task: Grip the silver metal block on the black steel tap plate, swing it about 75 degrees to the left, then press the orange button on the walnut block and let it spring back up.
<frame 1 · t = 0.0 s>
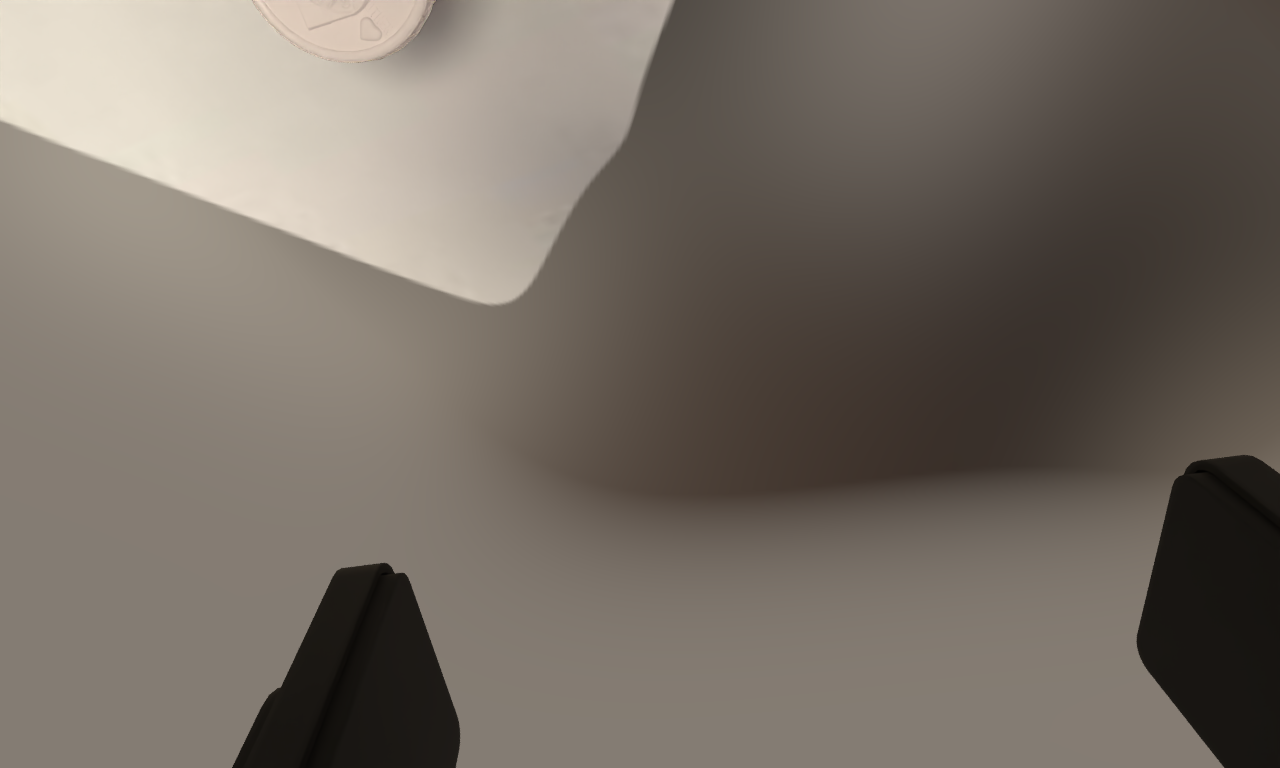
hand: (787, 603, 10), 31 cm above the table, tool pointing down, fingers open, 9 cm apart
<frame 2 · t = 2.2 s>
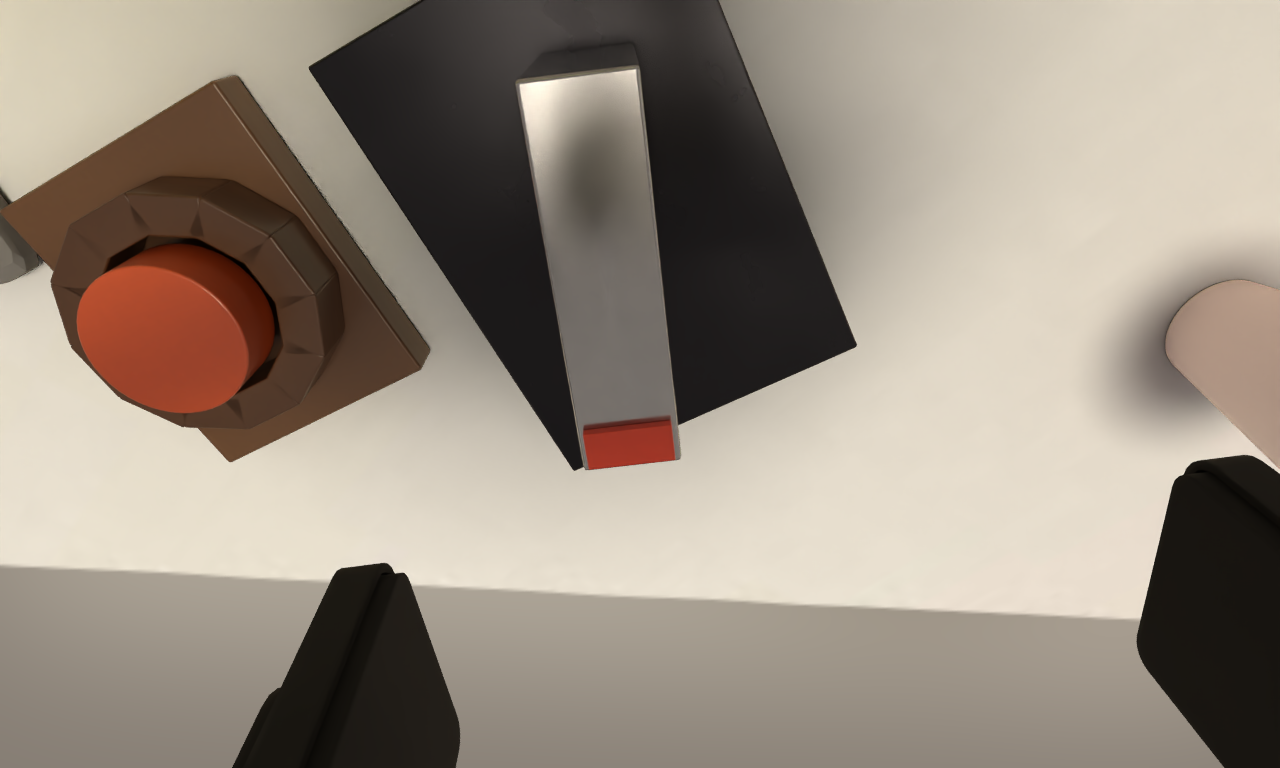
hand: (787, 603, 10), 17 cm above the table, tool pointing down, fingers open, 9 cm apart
silver metal block: (608, 254, 19), point 6 cm above the table, hinge at -20.0°
button: (181, 329, 21), point 4 cm above the table, slide at 0.1 cm
smoothie: (1215, 326, 27), on the table
tap plate: (609, 194, 24), on the table
button block: (242, 278, 25), on the table
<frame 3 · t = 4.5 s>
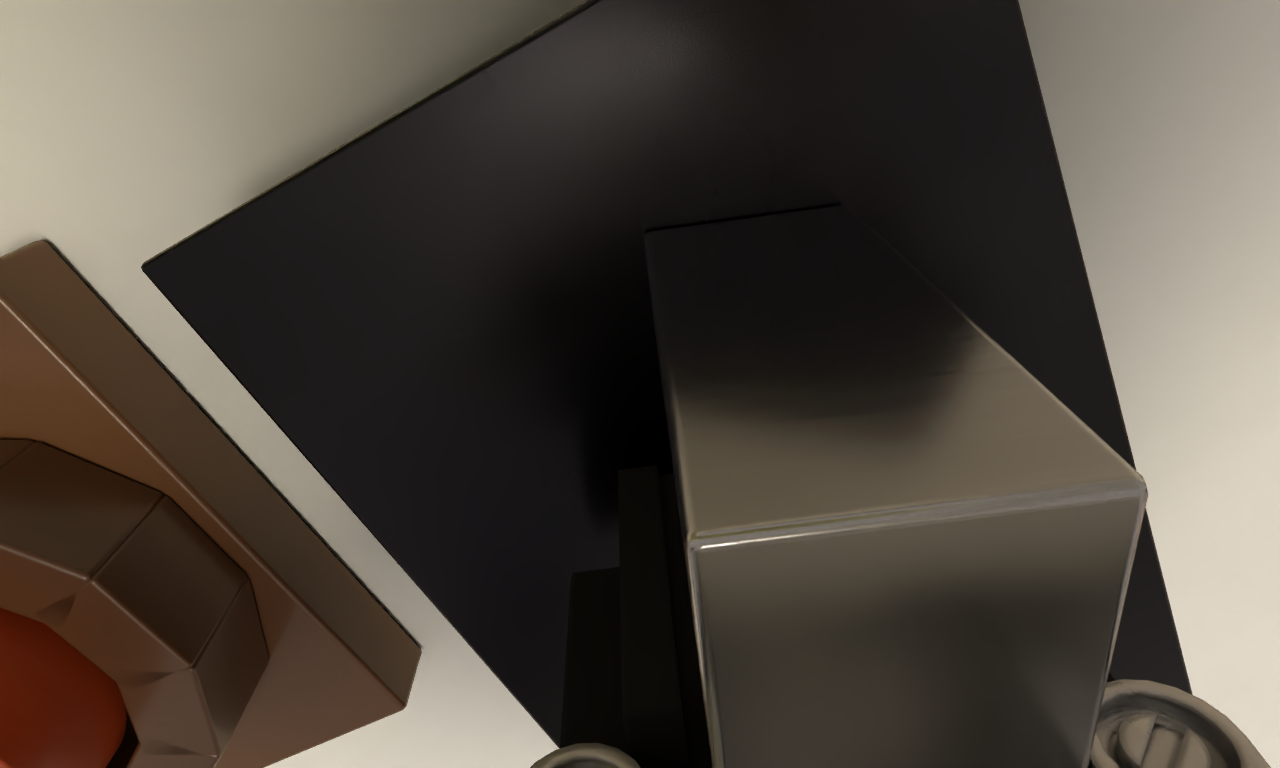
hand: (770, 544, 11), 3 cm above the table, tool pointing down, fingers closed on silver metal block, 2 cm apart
silver metal block: (813, 693, 8), point 6 cm above the table, hinge at -20.0°, touching gripper
tap plate: (734, 418, 14), on the table
button block: (96, 559, 15), on the table
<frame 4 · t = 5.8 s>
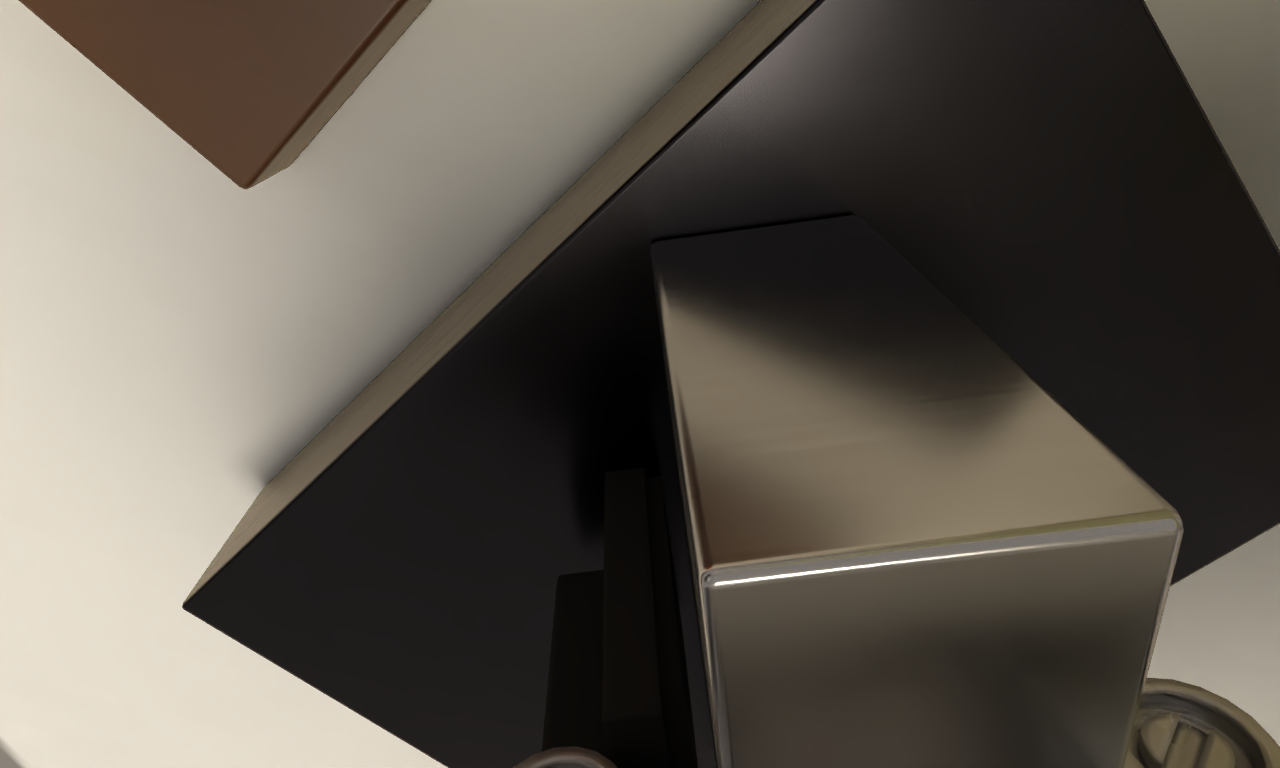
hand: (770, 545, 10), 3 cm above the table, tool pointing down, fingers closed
silver metal block: (823, 713, 8), point 6 cm above the table, hinge at 54.4°
tap plate: (740, 427, 13), on the table
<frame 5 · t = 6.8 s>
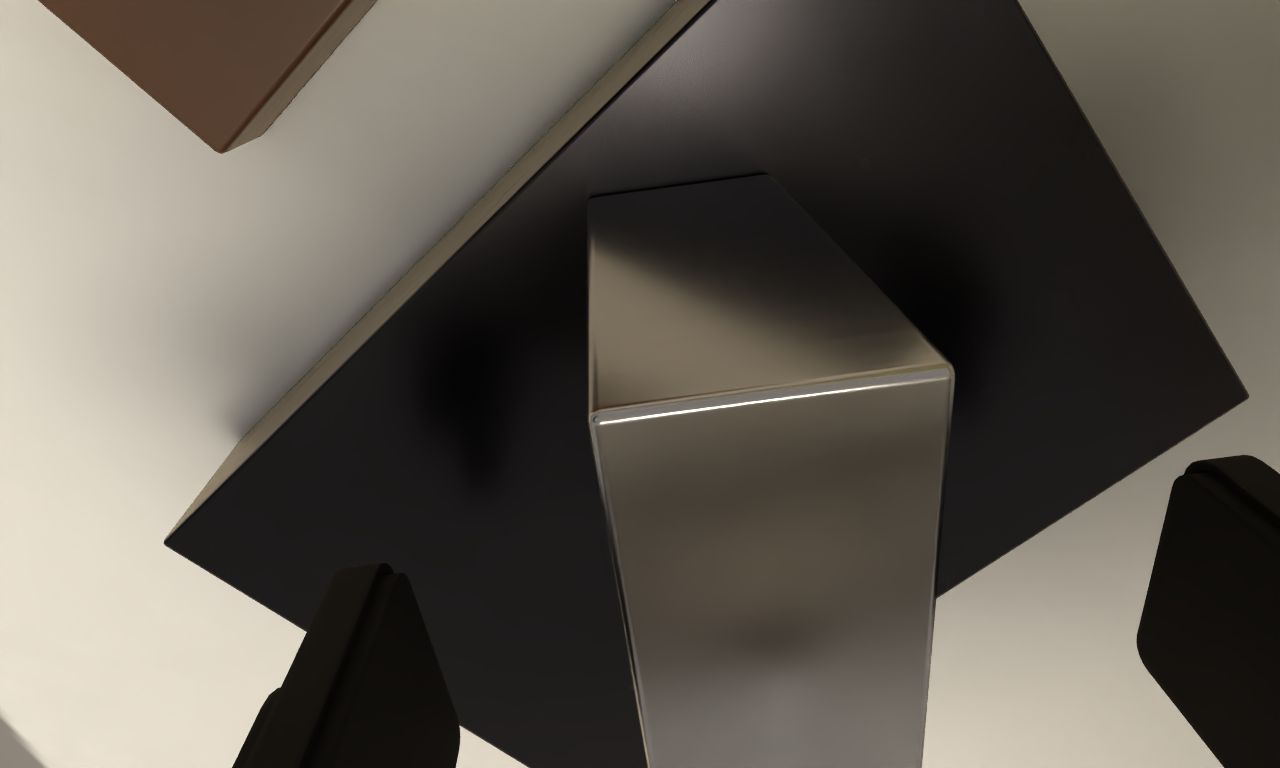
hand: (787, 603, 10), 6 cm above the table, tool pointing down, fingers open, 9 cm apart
silver metal block: (739, 609, 9), point 6 cm above the table, hinge at 54.4°
tap plate: (684, 382, 15), on the table
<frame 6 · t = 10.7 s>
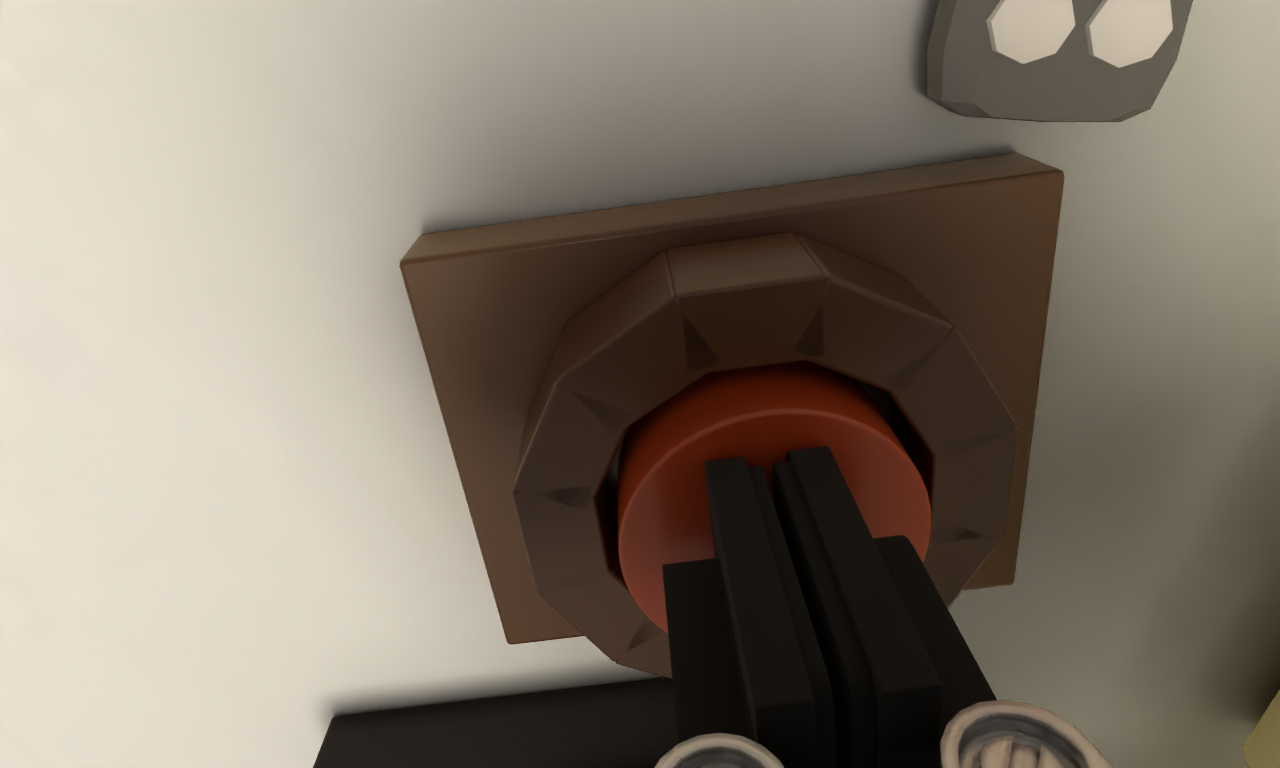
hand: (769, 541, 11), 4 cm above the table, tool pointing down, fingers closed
button: (763, 506, 12), point 3 cm above the table, slide at -0.7 cm, touching gripper
button block: (733, 402, 14), on the table
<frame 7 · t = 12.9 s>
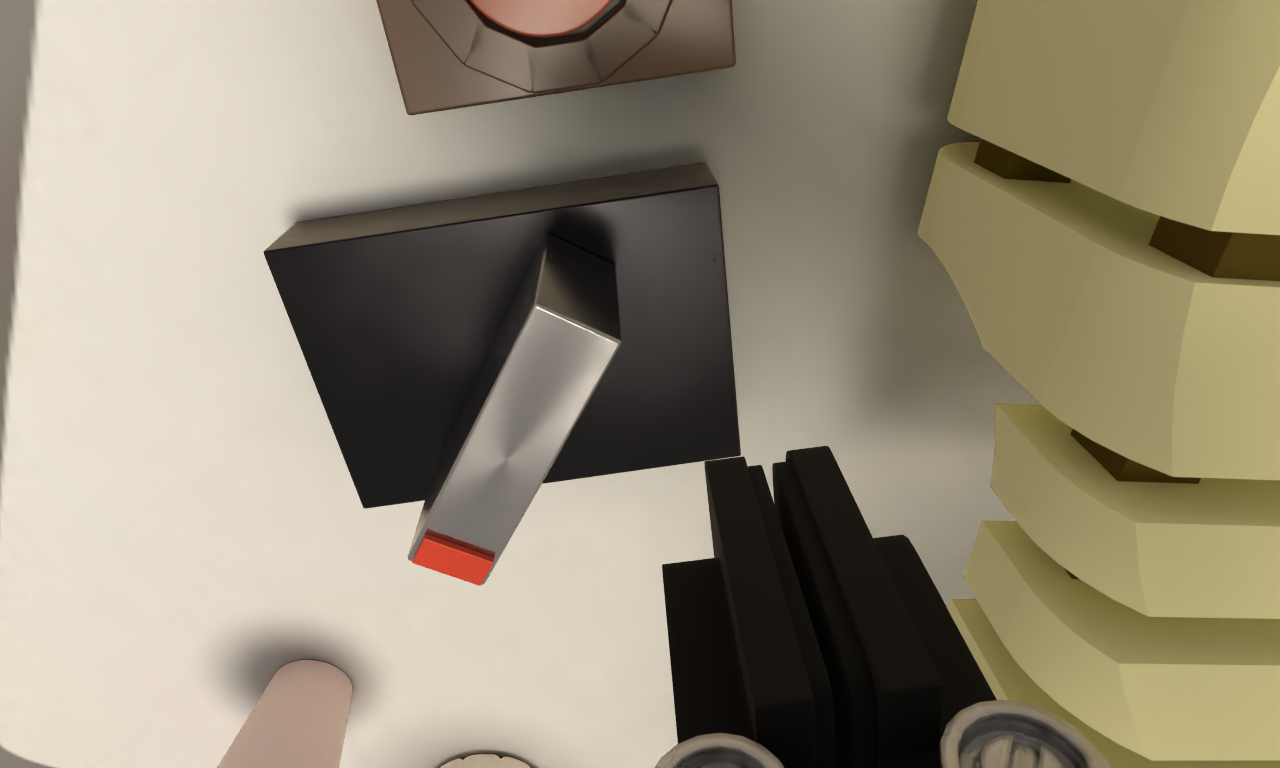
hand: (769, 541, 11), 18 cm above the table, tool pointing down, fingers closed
silver metal block: (515, 408, 23), point 6 cm above the table, hinge at 54.4°
slatted curved stool: (1156, 62, 25), on the table
smoothie: (314, 683, 37), on the table
tap plate: (529, 325, 28), on the table
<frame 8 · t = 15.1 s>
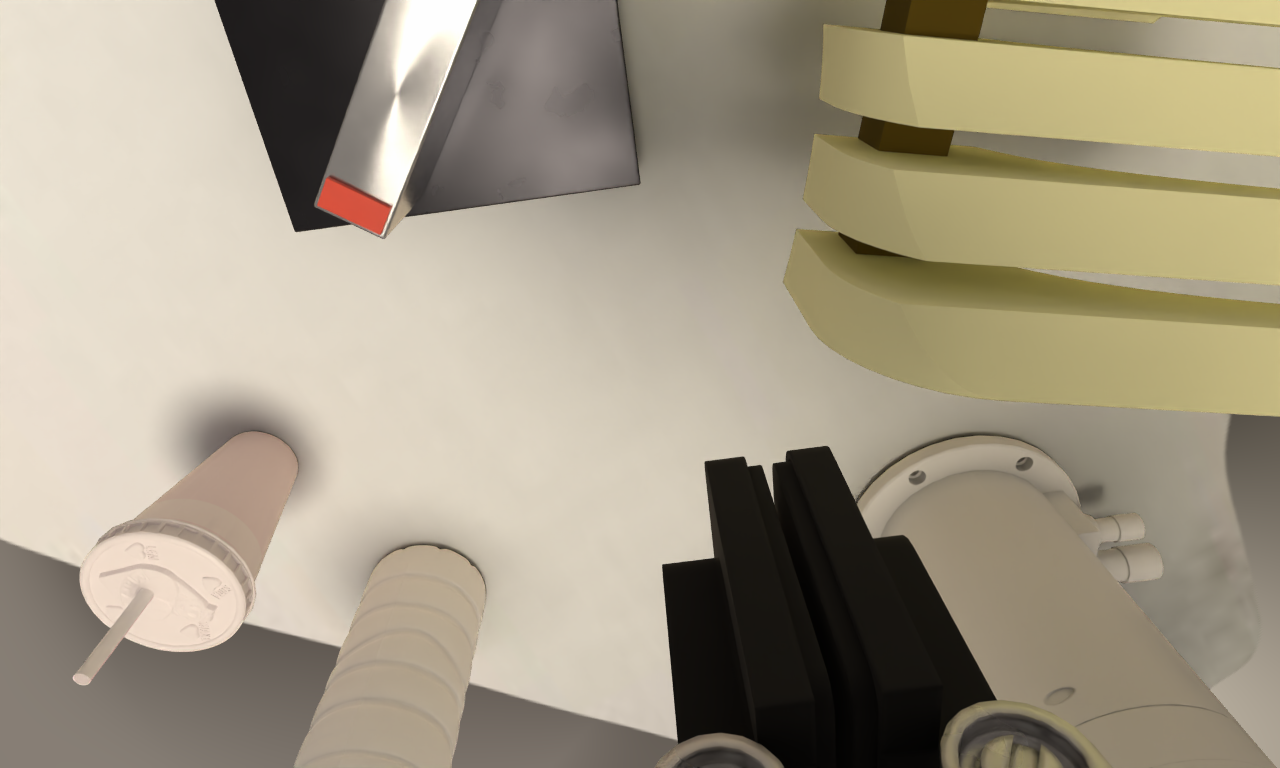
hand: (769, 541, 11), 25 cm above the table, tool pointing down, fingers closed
silver metal block: (416, 84, 25), point 6 cm above the table, hinge at 54.4°
smoothie: (262, 460, 39), on the table
water bottle: (449, 589, 44), on the table
tap plate: (450, 67, 31), on the table
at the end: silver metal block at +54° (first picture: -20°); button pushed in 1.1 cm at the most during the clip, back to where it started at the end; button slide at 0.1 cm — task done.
